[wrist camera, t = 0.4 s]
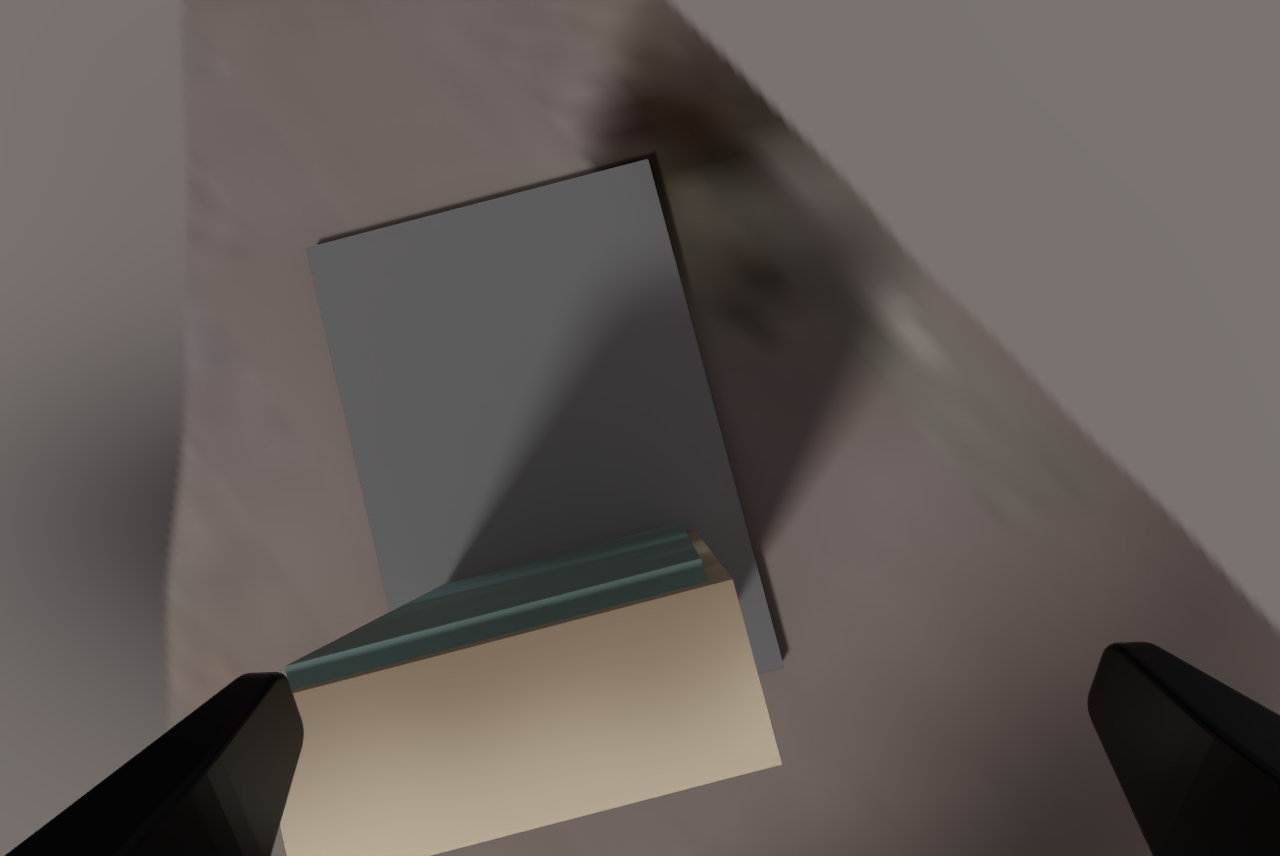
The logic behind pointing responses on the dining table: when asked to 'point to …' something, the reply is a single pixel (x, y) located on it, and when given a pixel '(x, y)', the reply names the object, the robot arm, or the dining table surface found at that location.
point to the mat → (529, 387)
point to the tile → (527, 701)
